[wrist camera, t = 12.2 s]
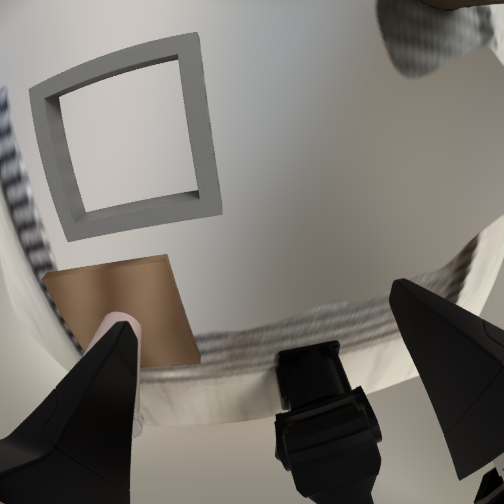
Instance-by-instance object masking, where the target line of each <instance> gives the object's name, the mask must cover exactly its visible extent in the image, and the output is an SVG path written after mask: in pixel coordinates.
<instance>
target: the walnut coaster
mask: <svg viewBox="0 0 504 504" xmlns="http://www.w3.org/2000/svg"><path fill="white" fill-rule="evenodd" d="M42 280H43V282H44V284H45V286H46V288H47V290H48V292H49V294H50V296H51V297H52V299H53V301H54V303H55V305H56V306H57V308H58V310H59V312H60V313H61V315H62V317H63V319H64V320H65V322H66V324H67V325H68V327H69V328H70V330H71V332H72V333H73V335H74V336H75V338H76V339H77V341H78V343H79V344H80V346H81V347H82V349H83V350H84V351H86V350H87V348H88V346H89V344H90V342H91V340H92V339H93V337H94V335H95V333H96V331H97V330H98V328H99V326H100V324H101V323H102V321H103V319H104V317H105V316H106V315H107V314H109V313H111V312H123V313H126V314H128V315H130V316H132V317H133V318H135V319H136V320H137V321H138V322H139V324H140V325H141V328H142V337H141V357H140V367H160V366H176V365H189V364H200V361H201V355H200V353H199V350H198V347H197V345H196V342H195V339H194V336H193V333H192V331H191V328H190V325H189V322H188V319H187V316H186V313H185V310H184V307H183V304H182V301H181V298H180V295H179V292H178V288H177V285H176V282H175V279H174V275H173V272H172V269H171V266H170V262H169V258H168V255H167V254H164V255H158V256H151V257H144V258H137V259H131V260H124V261H118V262H112V263H105V264H99V265H93V266H86V267H80V268H73V269H67V270H61V271H55V272H49V273H46V274H45V276H44V277H43V279H42Z"/></svg>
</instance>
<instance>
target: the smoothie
mask: <svg viewBox="0 0 504 504" xmlns="http://www.w3.org/2000/svg"><path fill="white" fill-rule="evenodd" d="M117 321H128V322H129V323H130V324H131V326H132V328H133V330H134V332H135V334H136V336H137V339H138V367H137V389H136V398H135V408H134V418H133V431H132V438H136V437H137V436H139V435H141V433H142V427H143V424H144V417H143V416H142V414H141V413H140V357H141V337H142V328H141V325H140V324H139V322H138V321H137V320H136V319H135V318H133V317H132V316H130V315H128V314H126V313H123V312H111V313H109V314H107V315H106V316H105V317H104V319H103V321H102V323H101V324H100V326H99V328H98V330H97V331H96V333H95V335H94V337H93V339H92V340H91V342H90V344H89V346H88V348H87V350H86V351H85V353H84V355H85V354H86V353H87V352H88V351H89V350H90V349H91V348H92V347H93V346H94V344H95V343H96V342H97V341H98V340H99V339H100V338H101V337H102V336H103V335H104V334H105V333H106V332H107V331H108V330H109V329H110V328H111V327H112V326H113V325H114V323H116V322H117ZM84 355H83V356H84Z"/></svg>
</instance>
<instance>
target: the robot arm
mask: <svg viewBox="0 0 504 504" xmlns="http://www.w3.org/2000/svg"><path fill="white" fill-rule="evenodd" d="M389 304H390V307H391V309H392V312H393V315H394V317H395V320H396V322H397V325H398V328H399V330H400V333H401V336H402V338H403V341H404V343H405V345H406V347H407V349H408V351H409V353H410V355H411V358H412V360H413V362H414V364H415V366H416V368H417V371H418V373H419V375H420V377H421V379H422V382H423V384H424V386H425V389H426V391H427V393H428V396H429V398H430V401H431V403H432V405H433V408H434V410H435V413H436V415H437V418H438V421H439V423H440V426H441V428H442V431H443V434H444V437H445V440H446V442H447V445H448V448H449V451H450V454H451V457H452V460H453V463H454V466H455V470H456V473H457V476H458V479H459V480H462V479H463V478H465V477H467V476H469V475H470V474H472V473H474V472H475V471H477V470H479V469H480V468H482V467H483V466H485V465H487V464H488V463H490V462H491V461H493V462H494V465H495V467H494V468H492V469H491V470H490V471H488V472H487V473H486V474H485V475H484V476H483V478H482V482H481V484H480V487H479V490H478V492H477V495H476V498H475V500H474V504H504V330H502V329H500V328H498V327H497V326H495V325H493V324H491V323H489V322H487V321H486V320H484V319H481V318H480V317H478V316H476V315H475V314H473V313H471V312H469V311H467V310H465V309H463V308H462V307H460V306H458V305H456V304H454V303H452V302H450V301H448V300H446V299H444V298H443V297H441V296H439V295H437V294H435V293H433V292H431V291H429V290H427V289H425V288H423V287H421V286H419V285H417V284H415V283H413V282H411V281H409V280H407V279H405V278H401V279H397V280H394V281H393V284H392V288H391V292H390V296H389ZM339 348H340V343H339V341H331V342H326V343H322V344H317V345H312V346H307V347H302V348H296V349H291V350H285V351H281V352H280V353H279V354H278V357H279V366H278V367H276V369H275V370H276V381H277V386H278V391H279V396H280V401H281V406H282V409H283V410H288V412H285V413H278V414H276V421H275V422H274V423H275V430H276V448H275V449H276V450H275V457H276V459H278V460H279V461H281V462H282V464H283V466H284V468H285V469H286V471H291V473H292V476H293V479H294V483H295V485H296V489H297V491H298V492H299V493H300V494H301V495H302V496H303V497H305V498H307V497H309V498H310V499H311V500H312V501H314V502H315V503H316V504H374V503H373V499H372V496H371V491H372V488H373V486H374V482H375V480H376V477H377V475H378V474H379V470H380V466H381V456H380V453H379V449H378V447H377V443H378V442H381V441H382V435H381V431H380V427H379V424H378V421H377V418H376V416H375V414H374V412H373V409H372V407H371V405H370V403H369V401H368V399H367V397H366V395H365V393H364V391H363V389H362V387H361V386H359V387H356V389H353V390H352V389H351V386H350V383H349V381H348V378H347V376H346V373H345V371H344V368H343V366H342V363H341V361H340V358H339V356H338V354H339ZM137 367H138V339H137V336H136V334H135V332H134V330H133V328H132V326H131V324H130V323H129V322H128V321H117V322H116V323H114V325H113V326H112V327H111V328H110V329H109V330H108V331H107V332H106V333H105V334H104V335H103V336H102V337H101V338H100V339H99V340H98V341H97V342H96V343H95V344H94V346H93V347H92V348H91V349H90V350H89V351H88V352H87V353H86V354H85V355H84V356H83V357H82V358H81V359H80V361H79V362H78V363H77V364H76V365H75V366H74V367H73V368H72V369H71V370H70V372H69V373H68V374H67V375H66V376H65V377H64V378H63V379H62V380H61V382H60V383H59V384H58V385H57V386H56V389H53V391H52V392H51V393H50V394H49V395H48V396H47V397H46V398H45V399H44V401H43V402H42V403H41V404H40V405H39V406H38V407H37V408H36V409H35V410H34V411H33V412H32V413H31V414H30V415H29V416H28V417H27V418H26V419H25V420H24V421H23V422H22V423H21V424H20V425H19V426H18V427H17V428H16V429H15V430H14V431H13V432H12V433H11V434H10V435H9V436H7V437H6V438H4V439H1V440H0V504H130V491H129V490H130V466H131V444H132V431H133V418H134V408H135V398H136V389H137Z"/></svg>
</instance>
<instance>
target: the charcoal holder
mask: <svg viewBox="0 0 504 504" xmlns="http://www.w3.org/2000/svg"><path fill="white" fill-rule="evenodd" d="M178 59H179V67H180V75H181V83H182V89H183V97H184V104H185V111H186V118H187V125H188V131H189V137H190V144H191V149H192V156H193V161H194V167H195V173H196V179H197V185H198V190H196V191H191V192H184V193H179V194H173V195H167V196H162V197H156V198H152V199H146V200H141V201H136V202H131V203H126V204H122V205H117V206H113V207H108V208H104V209H99V210H95V211H91V212H87V213H86V212H85V209H84V205H83V202H82V199H81V195H80V192H79V188H78V185H77V181H76V178H75V174H74V170H73V166H72V162H71V158H70V154H69V150H68V145H67V140H66V135H65V131H64V126H63V120H62V115H61V108H60V102H59V97H60V96H62V95H64V94H67V93H69V92H72V91H74V90H76V89H79V88H81V87H84V86H87V85H89V84H92V83H95V82H98V81H100V80H104V79H106V78H109V77H113V76H116V75H119V74H122V73H125V72H129V71H132V70H136V69H139V68H143V67H147V66H151V65H155V64H160V63H164V62H168V61H173V60H178ZM29 96H30V103H31V110H32V116H33V122H34V127H35V132H36V137H37V142H38V147H39V151H40V155H41V160H42V164H43V167H44V171H45V175H46V179H47V182H48V185H49V188H50V192H51V195H52V199H53V202H54V205H55V208H56V211H57V214H58V217H59V220H60V222H61V225H62V228H63V231H64V233H65V236H66V239H67V241H68V242H71V241H76V240H80V239H85V238H90V237H95V236H100V235H105V234H110V233H116V232H121V231H126V230H132V229H137V228H143V227H149V226H154V225H160V224H166V223H172V222H178V221H184V220H191V219H197V218H203V217H209V216H216V215H222V200H221V193H220V186H219V180H218V174H217V166H216V160H215V153H214V146H213V139H212V132H211V125H210V117H209V110H208V103H207V95H206V87H205V80H204V71H203V63H202V55H201V47H200V39H199V36H198V33H197V32H194V33H187V34H182V35H177V36H172V37H168V38H163V39H159V40H155V41H150V42H147V43H143V44H139V45H136V46H132V47H129V48H126V49H123V50H119V51H116V52H113V53H110V54H107V55H104V56H101V57H98V58H96V59H93V60H90V61H88V62H85V63H83V64H80V65H78V66H76V67H73V68H71V69H69V70H67V71H65V72H62V73H60V74H57V75H56V76H53V77H51V78H49V79H47V80H45V81H43V82H41V83H40V84H37V85H35V86H34V87H32V88H30V89H29Z"/></svg>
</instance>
